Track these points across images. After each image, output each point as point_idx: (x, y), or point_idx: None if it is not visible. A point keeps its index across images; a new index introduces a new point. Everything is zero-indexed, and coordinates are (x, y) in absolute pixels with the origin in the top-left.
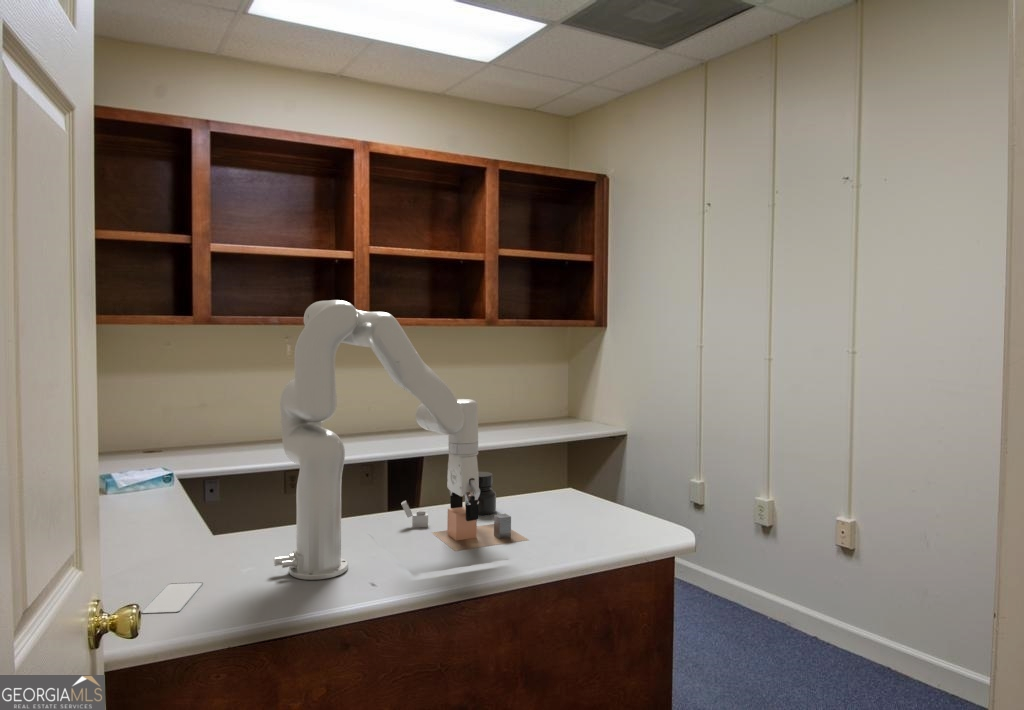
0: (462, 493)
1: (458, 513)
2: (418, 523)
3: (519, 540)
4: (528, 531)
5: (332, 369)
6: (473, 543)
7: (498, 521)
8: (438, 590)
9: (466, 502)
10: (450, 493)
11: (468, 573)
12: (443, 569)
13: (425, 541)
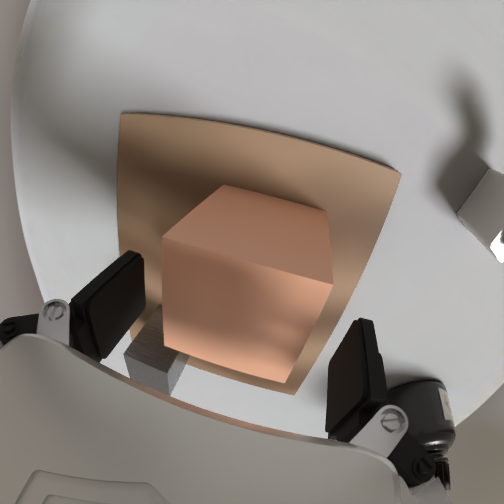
0: (9, 342)
1: (172, 260)
2: (495, 195)
3: (133, 327)
4: (225, 393)
5: None
6: (157, 218)
7: (139, 347)
8: (25, 20)
9: (439, 413)
10: (397, 416)
11: (38, 96)
12: (75, 44)
13: (362, 110)
